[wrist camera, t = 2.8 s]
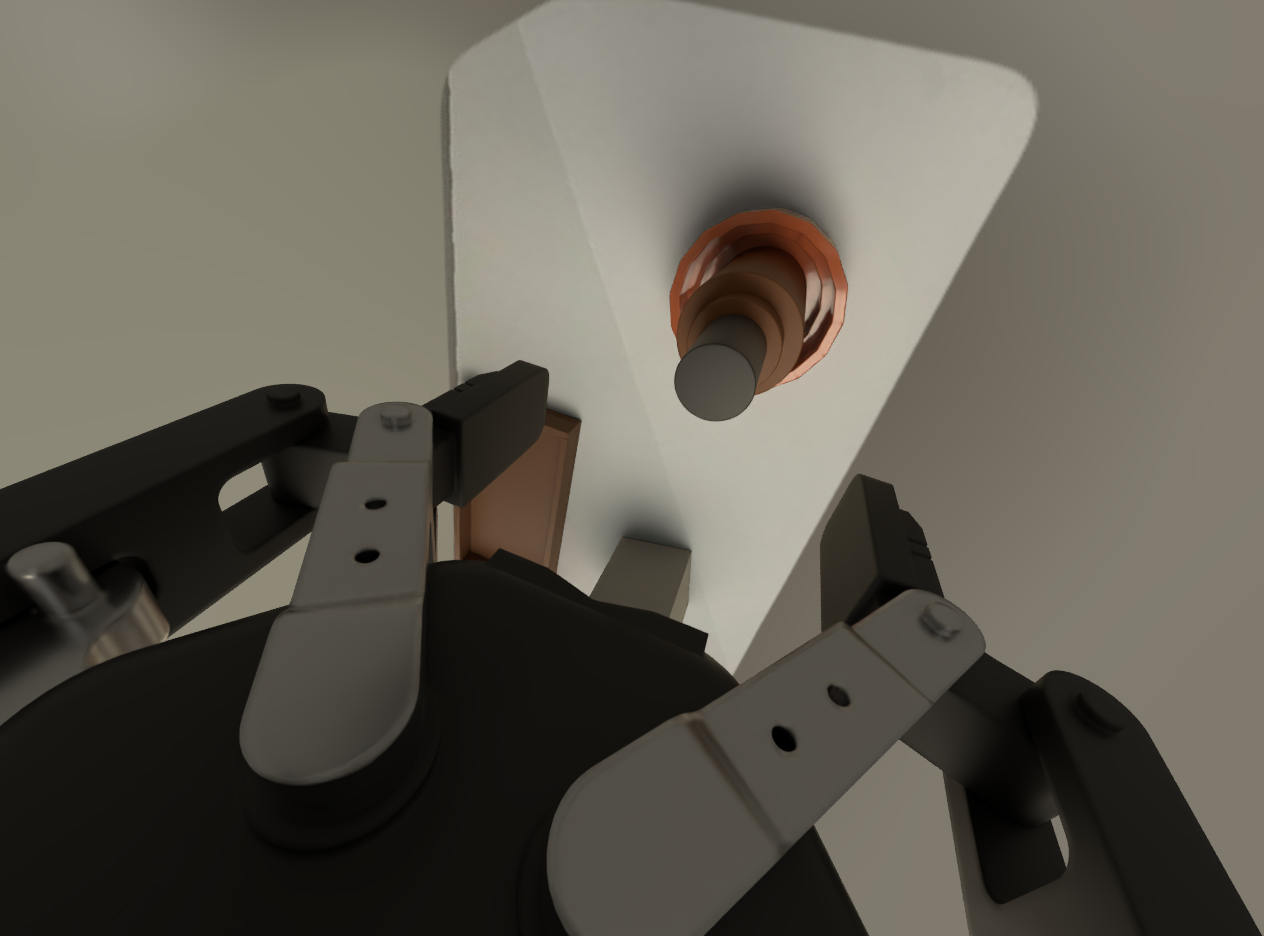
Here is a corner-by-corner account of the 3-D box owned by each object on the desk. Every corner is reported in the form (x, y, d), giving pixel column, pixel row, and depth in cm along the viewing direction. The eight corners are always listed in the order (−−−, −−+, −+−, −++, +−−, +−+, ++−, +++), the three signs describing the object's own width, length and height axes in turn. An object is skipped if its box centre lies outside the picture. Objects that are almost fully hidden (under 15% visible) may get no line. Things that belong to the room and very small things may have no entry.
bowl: (665, 256, 31) (642, 265, 27) (812, 174, 26) (812, 171, 22) (720, 384, 34) (708, 410, 30) (861, 331, 30) (869, 353, 25)
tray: (470, 380, 41) (452, 391, 39) (581, 420, 40) (568, 433, 37) (468, 549, 53) (454, 564, 51) (554, 586, 51) (543, 603, 49)
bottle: (702, 272, 30) (609, 341, 16) (788, 228, 28) (764, 265, 14) (735, 351, 32) (676, 473, 18) (819, 316, 29) (824, 429, 15)
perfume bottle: (623, 588, 48) (540, 763, 33) (622, 537, 45) (528, 706, 30) (688, 603, 46) (629, 796, 31) (691, 551, 43) (628, 739, 28)
